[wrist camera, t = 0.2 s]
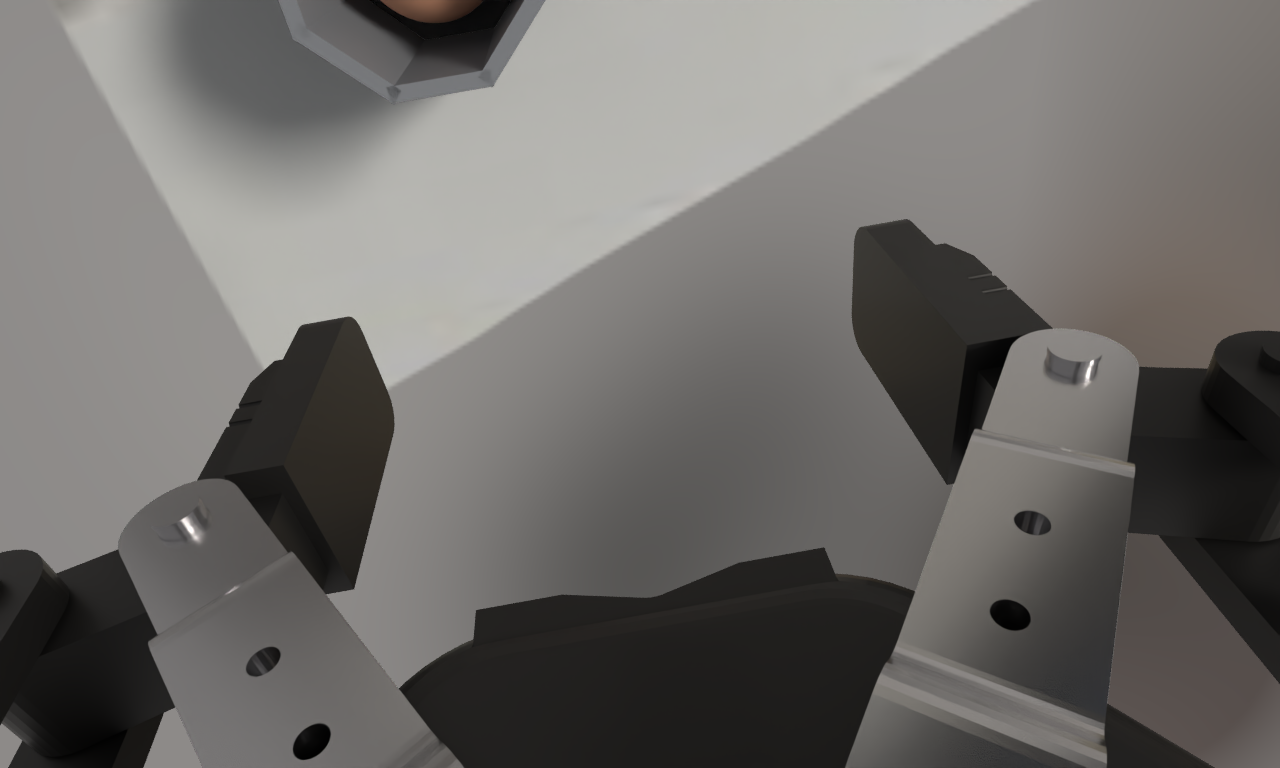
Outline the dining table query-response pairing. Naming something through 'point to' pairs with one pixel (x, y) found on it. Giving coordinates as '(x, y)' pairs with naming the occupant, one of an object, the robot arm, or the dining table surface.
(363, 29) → the tube
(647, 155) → the dining table surface
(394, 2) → the ball in tube
